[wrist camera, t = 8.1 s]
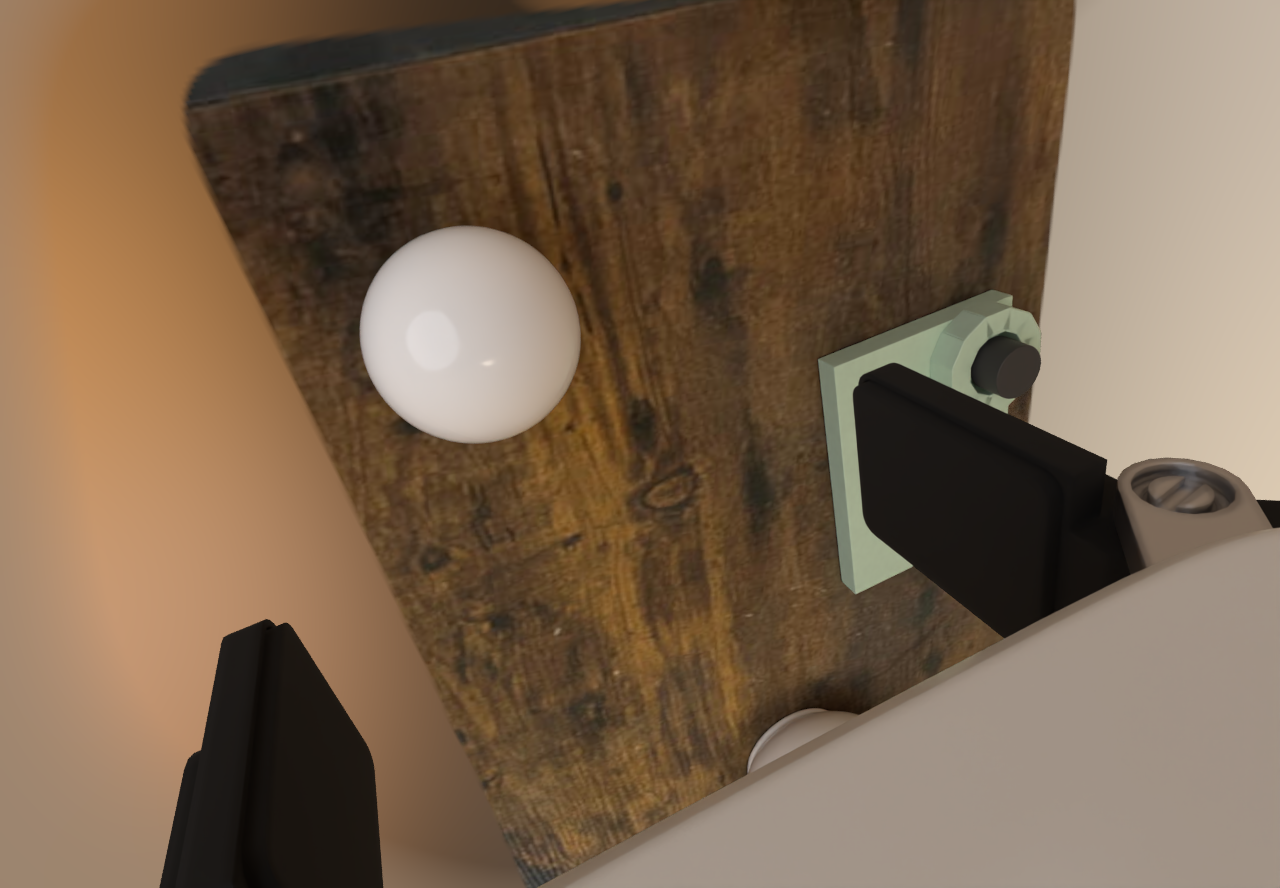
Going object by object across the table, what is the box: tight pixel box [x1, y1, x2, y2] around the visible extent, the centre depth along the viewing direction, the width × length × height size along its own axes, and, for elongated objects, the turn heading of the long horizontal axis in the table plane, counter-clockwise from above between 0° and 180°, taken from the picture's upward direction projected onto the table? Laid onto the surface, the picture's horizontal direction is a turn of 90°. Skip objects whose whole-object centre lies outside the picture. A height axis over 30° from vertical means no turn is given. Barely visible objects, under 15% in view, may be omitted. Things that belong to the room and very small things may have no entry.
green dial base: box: [818, 290, 1041, 594], centre depth 40 cm, size 15×11×3 cm
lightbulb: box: [360, 226, 581, 444], centre depth 24 cm, size 6×6×11 cm
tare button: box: [971, 336, 1041, 399], centre depth 37 cm, size 3×3×2 cm
